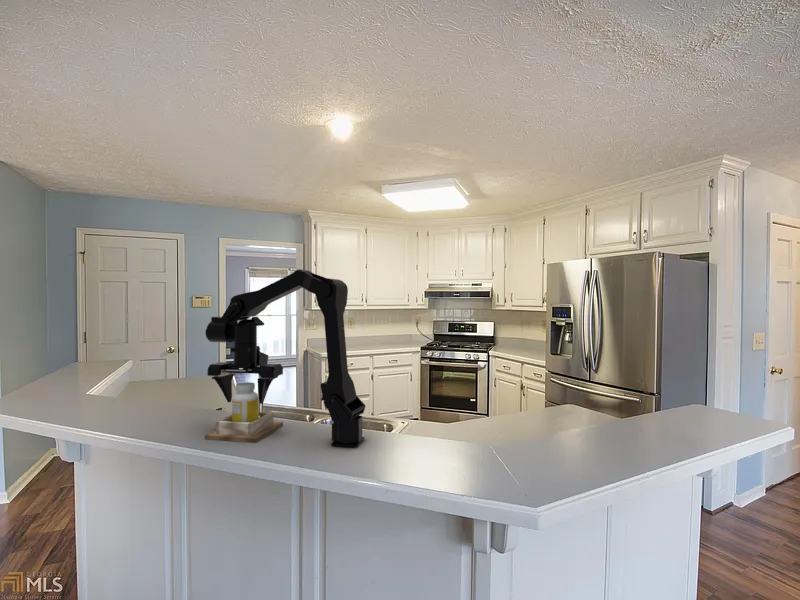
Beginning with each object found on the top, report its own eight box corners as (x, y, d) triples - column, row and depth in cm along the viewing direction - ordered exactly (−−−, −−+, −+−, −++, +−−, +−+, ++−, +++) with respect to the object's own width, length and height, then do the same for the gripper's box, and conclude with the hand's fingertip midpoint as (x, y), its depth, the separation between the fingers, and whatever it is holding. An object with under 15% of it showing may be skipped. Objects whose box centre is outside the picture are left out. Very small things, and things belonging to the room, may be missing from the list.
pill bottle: (262, 425, 115) (262, 382, 115) (251, 432, 108) (251, 386, 108) (239, 424, 115) (239, 381, 115) (227, 431, 109) (227, 386, 109)
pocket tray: (282, 426, 117) (282, 411, 117) (256, 442, 104) (256, 426, 104) (236, 423, 120) (236, 409, 120) (204, 439, 106) (204, 423, 106)
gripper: (292, 340, 118) (292, 397, 118) (230, 339, 122) (231, 394, 122) (272, 344, 107) (272, 407, 107) (205, 343, 111) (206, 404, 111)
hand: (245, 402), depth 112 cm, fingers open, 9 cm apart
